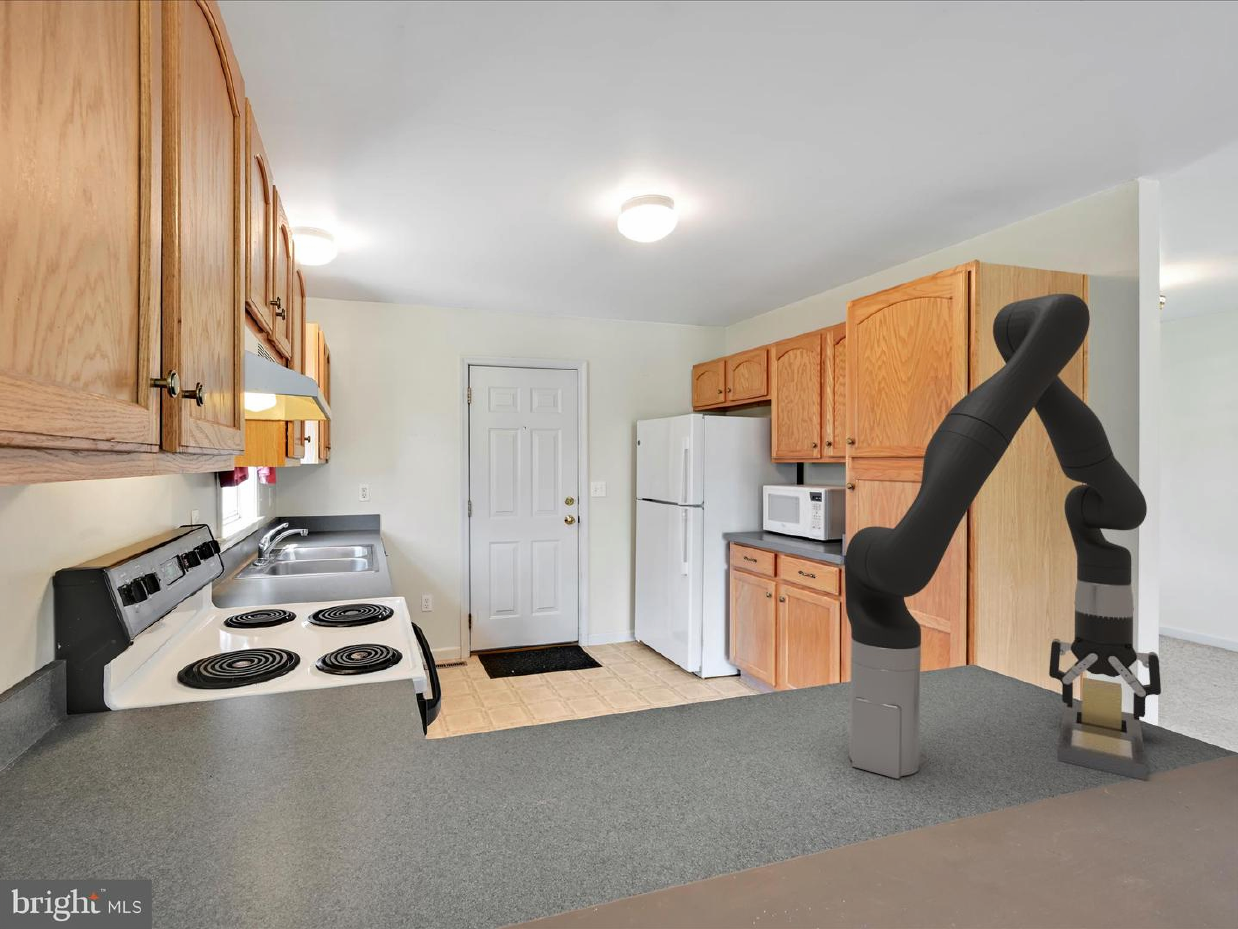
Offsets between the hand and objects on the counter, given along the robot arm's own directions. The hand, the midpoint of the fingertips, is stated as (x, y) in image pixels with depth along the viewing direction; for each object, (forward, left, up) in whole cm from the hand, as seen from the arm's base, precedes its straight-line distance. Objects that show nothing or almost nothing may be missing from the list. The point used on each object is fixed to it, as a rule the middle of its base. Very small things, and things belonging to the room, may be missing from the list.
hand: (1102, 712), depth 106 cm
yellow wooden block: (0, 0, -4) cm, 4 cm away
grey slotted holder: (-4, 0, -4) cm, 5 cm away
